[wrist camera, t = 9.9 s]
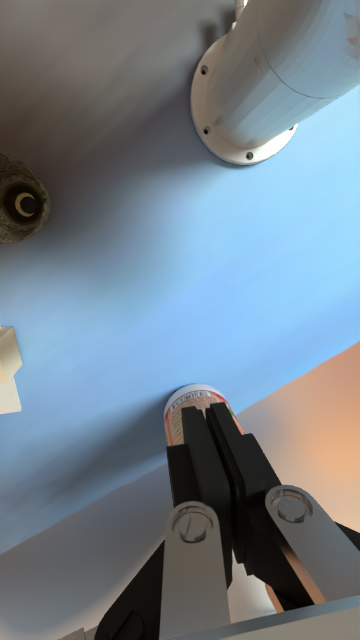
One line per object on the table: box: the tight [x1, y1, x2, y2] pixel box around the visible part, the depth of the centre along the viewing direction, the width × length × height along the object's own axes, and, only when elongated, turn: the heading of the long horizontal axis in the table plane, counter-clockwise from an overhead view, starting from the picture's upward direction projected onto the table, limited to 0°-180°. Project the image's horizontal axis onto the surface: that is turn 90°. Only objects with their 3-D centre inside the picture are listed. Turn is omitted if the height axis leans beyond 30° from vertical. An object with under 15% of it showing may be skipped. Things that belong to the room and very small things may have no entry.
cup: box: [0, 154, 51, 243], centre depth 31 cm, size 8×7×8 cm
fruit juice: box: [164, 384, 277, 624], centre depth 32 cm, size 9×9×28 cm
